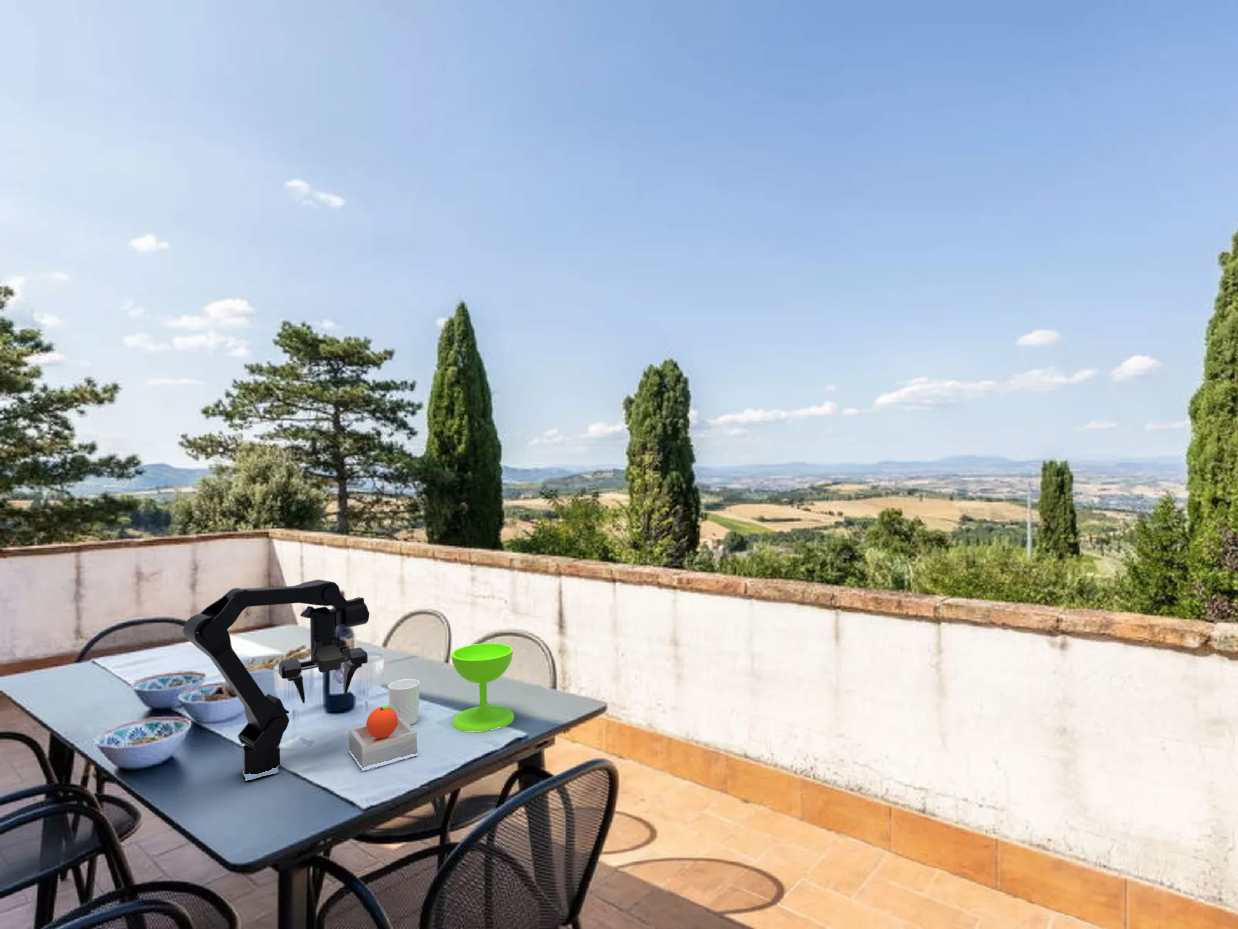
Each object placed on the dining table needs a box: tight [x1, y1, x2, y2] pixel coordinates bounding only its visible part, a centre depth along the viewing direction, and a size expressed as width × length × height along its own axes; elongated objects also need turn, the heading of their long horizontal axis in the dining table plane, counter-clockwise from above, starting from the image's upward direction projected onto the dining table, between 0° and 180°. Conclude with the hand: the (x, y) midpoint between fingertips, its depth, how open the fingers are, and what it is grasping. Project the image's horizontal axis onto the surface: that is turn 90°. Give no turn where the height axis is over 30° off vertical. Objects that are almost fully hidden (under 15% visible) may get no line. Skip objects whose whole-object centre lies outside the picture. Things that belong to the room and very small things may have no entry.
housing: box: [348, 716, 418, 768], centre depth 145 cm, size 12×12×6 cm
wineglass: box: [450, 642, 515, 733], centre depth 164 cm, size 16×16×18 cm
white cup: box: [387, 678, 421, 726], centre depth 164 cm, size 8×8×10 cm
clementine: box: [365, 705, 399, 739], centre depth 145 cm, size 8×7×7 cm
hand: (324, 698), depth 149 cm, fingers open, 9 cm apart
